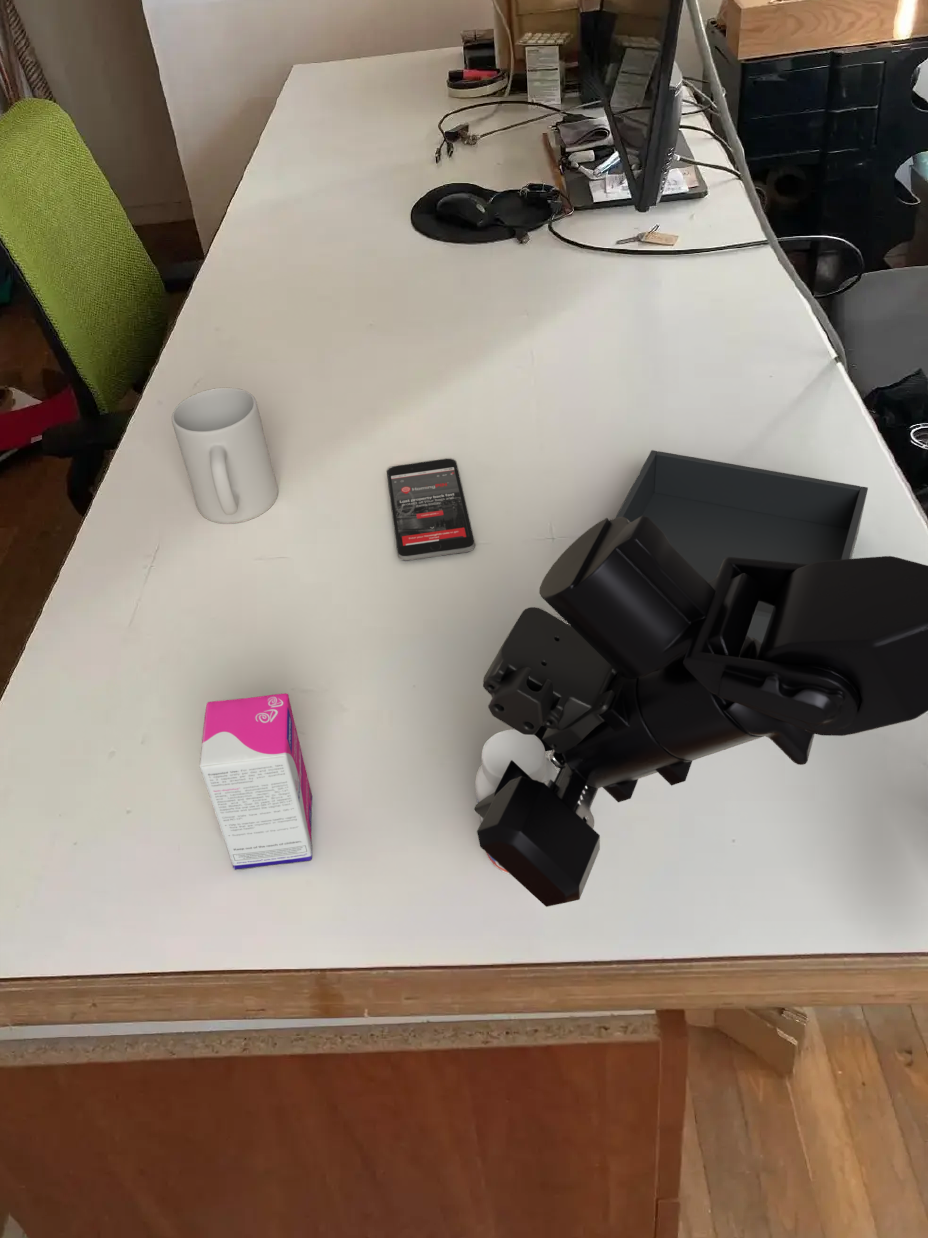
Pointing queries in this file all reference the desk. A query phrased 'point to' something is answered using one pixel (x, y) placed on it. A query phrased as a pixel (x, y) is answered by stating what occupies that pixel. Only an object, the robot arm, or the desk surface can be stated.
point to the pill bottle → (498, 756)
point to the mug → (225, 454)
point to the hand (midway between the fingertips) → (497, 777)
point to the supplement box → (257, 780)
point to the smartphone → (429, 510)
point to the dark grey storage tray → (745, 515)
